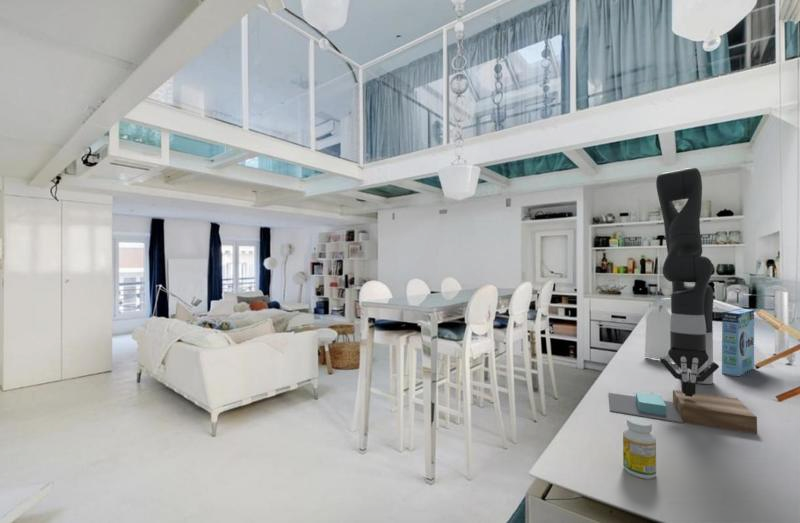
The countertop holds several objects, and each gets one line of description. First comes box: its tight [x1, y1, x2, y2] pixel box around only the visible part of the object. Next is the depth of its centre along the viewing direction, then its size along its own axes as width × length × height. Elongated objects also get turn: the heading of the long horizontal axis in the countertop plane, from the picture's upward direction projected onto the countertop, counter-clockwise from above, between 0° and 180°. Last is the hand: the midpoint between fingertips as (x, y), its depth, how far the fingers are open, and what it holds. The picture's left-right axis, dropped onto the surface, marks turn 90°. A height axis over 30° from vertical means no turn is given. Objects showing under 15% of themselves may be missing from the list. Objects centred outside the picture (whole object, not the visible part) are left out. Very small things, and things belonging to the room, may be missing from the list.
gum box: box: [721, 308, 755, 377], centre depth 139 cm, size 20×5×23 cm, turn 123°
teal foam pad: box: [635, 391, 666, 415], centre depth 102 cm, size 9×6×2 cm, turn 152°
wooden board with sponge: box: [672, 389, 758, 435], centre depth 96 cm, size 14×14×4 cm
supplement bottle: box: [622, 416, 657, 480], centre depth 71 cm, size 5×5×10 cm
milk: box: [644, 297, 675, 363], centre depth 156 cm, size 12×12×26 cm
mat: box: [608, 392, 685, 424], centre depth 103 cm, size 16×16×1 cm
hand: (688, 395), depth 98 cm, fingers closed
